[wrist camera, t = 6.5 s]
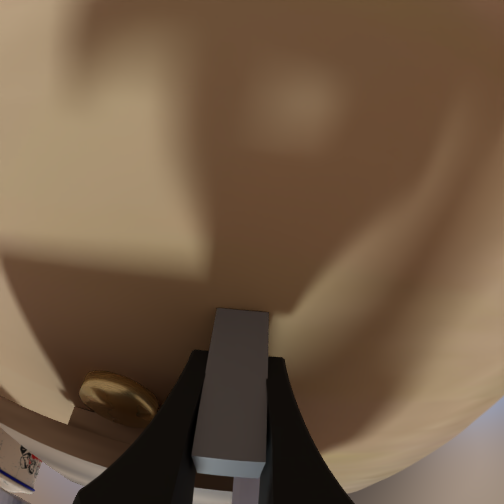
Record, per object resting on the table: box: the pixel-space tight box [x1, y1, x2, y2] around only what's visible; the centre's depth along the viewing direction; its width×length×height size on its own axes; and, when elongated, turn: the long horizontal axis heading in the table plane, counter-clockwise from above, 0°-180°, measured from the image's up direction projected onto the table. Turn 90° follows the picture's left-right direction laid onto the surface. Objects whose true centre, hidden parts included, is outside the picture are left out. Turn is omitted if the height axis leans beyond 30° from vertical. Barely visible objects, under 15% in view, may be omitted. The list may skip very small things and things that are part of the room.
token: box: [79, 371, 158, 428], centre depth 16 cm, size 5×5×2 cm
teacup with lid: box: [0, 427, 42, 494], centre depth 21 cm, size 12×9×12 cm
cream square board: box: [0, 396, 234, 504], centre depth 15 cm, size 12×14×6 cm
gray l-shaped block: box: [192, 308, 269, 478], centre depth 13 cm, size 12×2×6 cm, turn 176°
